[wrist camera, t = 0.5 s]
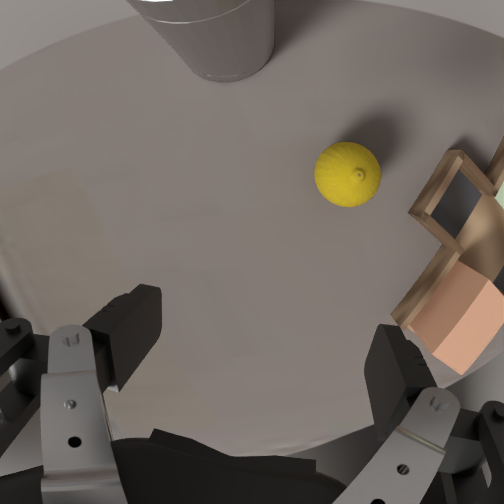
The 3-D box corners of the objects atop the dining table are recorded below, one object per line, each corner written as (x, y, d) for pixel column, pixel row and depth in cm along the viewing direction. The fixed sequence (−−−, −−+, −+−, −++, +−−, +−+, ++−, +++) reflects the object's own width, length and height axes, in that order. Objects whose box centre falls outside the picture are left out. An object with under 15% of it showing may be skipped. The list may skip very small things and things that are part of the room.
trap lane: (464, 368, 34) (473, 380, 31) (353, 288, 32) (360, 299, 29) (567, 201, 27) (580, 204, 24) (482, 83, 25) (497, 78, 22)
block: (437, 343, 33) (461, 375, 26) (407, 322, 32) (431, 354, 26) (481, 285, 31) (513, 308, 24) (454, 258, 30) (488, 279, 23)
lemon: (375, 169, 29) (407, 171, 21) (342, 212, 30) (364, 228, 23) (331, 133, 28) (351, 122, 21) (297, 178, 30) (306, 181, 22)
